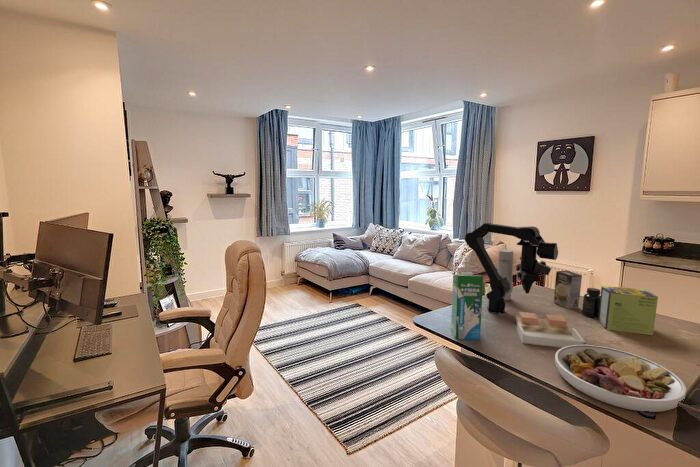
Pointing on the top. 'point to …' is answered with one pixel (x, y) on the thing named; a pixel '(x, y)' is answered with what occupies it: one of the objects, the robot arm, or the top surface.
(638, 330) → the protein box
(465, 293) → the milk carton
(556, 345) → the tray
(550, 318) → the tile
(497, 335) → the top surface
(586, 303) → the supplement bottle
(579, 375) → the bowl
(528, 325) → the oak board
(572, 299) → the coffee box
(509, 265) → the water bottle
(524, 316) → the tile
